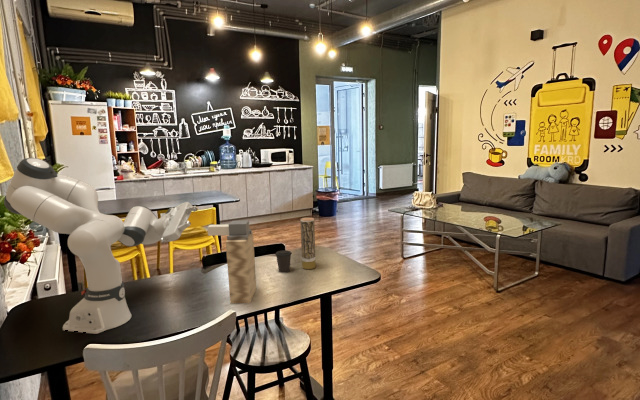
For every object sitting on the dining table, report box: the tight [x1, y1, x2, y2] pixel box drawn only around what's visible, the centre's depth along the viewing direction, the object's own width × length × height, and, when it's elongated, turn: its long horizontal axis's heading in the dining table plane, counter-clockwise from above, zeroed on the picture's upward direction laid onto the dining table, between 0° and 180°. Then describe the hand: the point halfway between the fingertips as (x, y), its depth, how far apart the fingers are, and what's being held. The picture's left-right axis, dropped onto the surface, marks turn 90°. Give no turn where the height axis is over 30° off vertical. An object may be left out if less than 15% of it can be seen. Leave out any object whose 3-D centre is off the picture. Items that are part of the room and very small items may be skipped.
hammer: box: [206, 220, 251, 237], centre depth 157 cm, size 16×6×6 cm, turn 89°
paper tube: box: [300, 217, 317, 270], centre depth 191 cm, size 7×7×25 cm
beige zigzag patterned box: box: [225, 229, 257, 304], centre depth 160 cm, size 8×14×28 cm, turn 179°
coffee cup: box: [275, 249, 292, 274], centre depth 188 cm, size 8×8×10 cm
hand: (192, 215), depth 159 cm, fingers open, 8 cm apart
